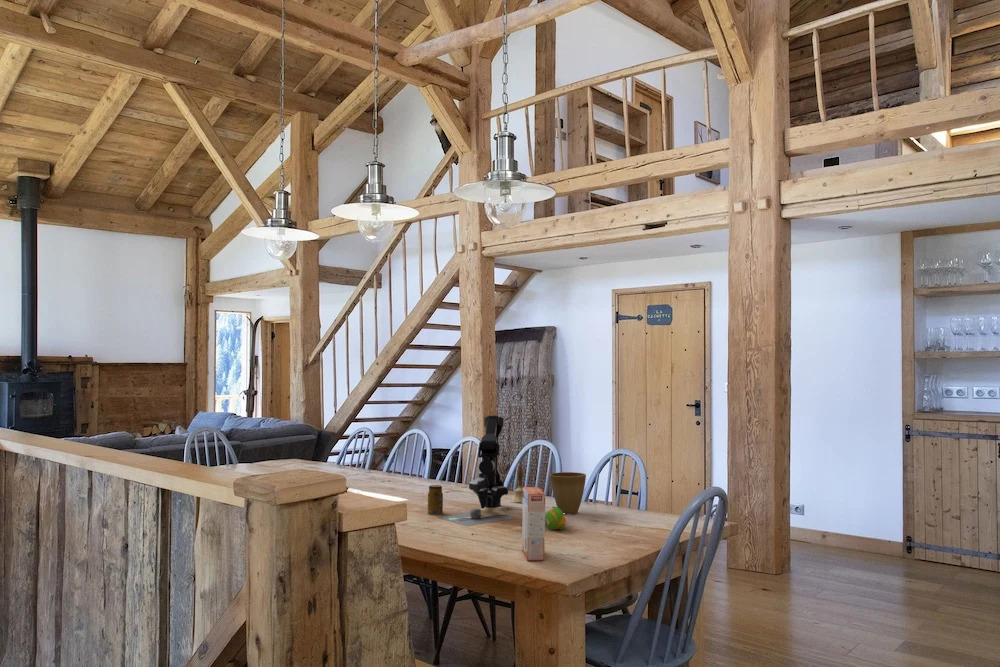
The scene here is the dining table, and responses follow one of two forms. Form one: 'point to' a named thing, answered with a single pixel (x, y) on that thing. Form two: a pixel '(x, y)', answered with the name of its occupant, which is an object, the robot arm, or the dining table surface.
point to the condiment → (435, 500)
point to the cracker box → (533, 524)
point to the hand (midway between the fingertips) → (487, 509)
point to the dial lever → (485, 513)
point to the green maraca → (555, 519)
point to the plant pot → (568, 490)
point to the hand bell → (519, 487)
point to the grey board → (475, 521)
